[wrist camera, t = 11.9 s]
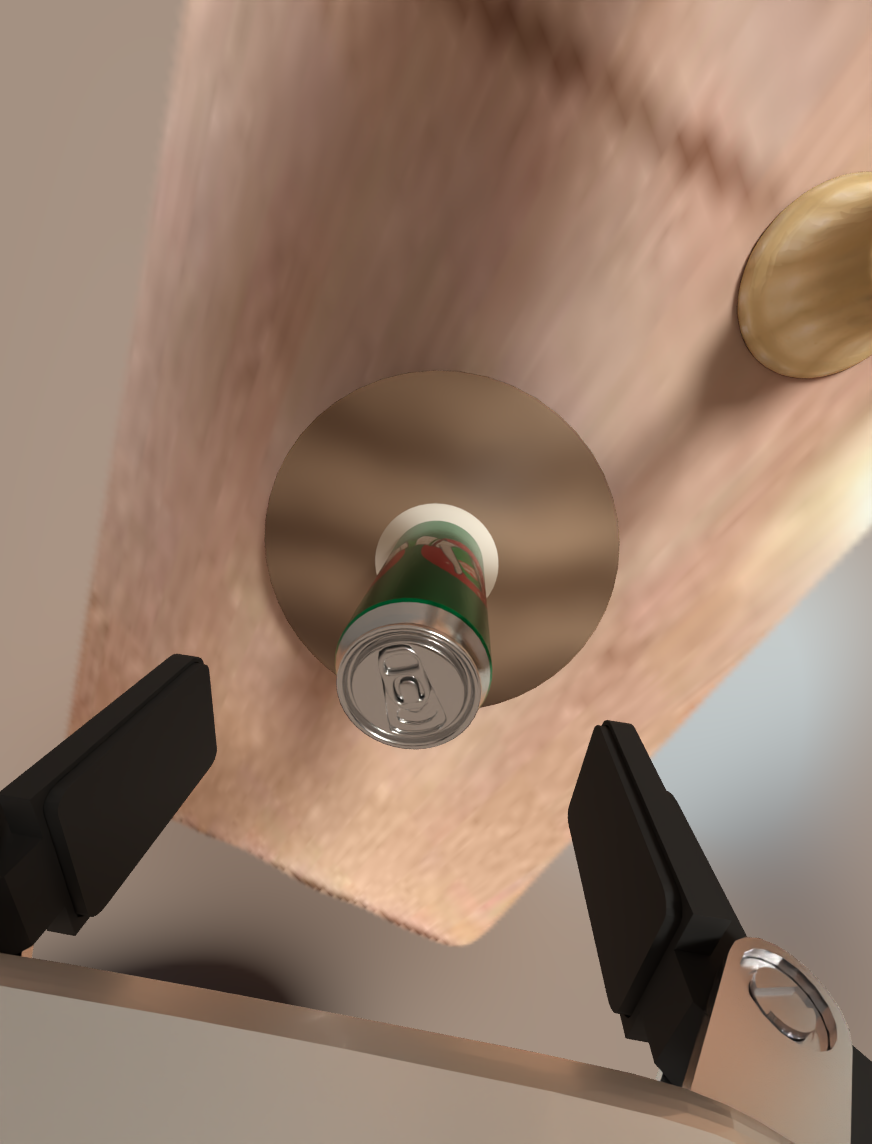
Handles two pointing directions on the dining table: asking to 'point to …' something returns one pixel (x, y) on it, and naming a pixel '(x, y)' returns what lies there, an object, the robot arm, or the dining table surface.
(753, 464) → the dining table surface
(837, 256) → the hand bell
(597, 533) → the turntable
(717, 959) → the robot arm
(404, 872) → the dining table surface
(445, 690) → the soda can
